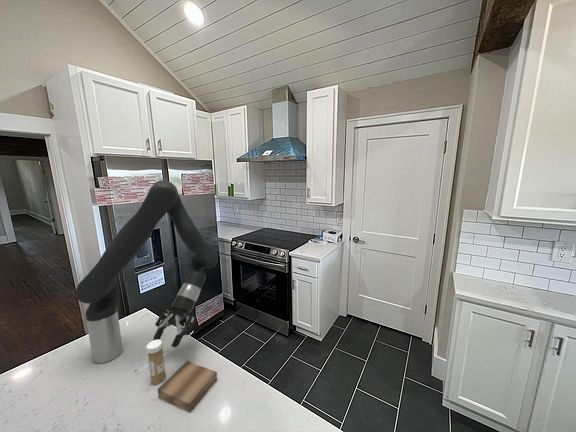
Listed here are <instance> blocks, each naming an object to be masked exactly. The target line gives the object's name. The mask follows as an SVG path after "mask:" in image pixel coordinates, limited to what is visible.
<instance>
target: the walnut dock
mask: <svg viewBox="0 0 576 432" xmlns="http://www.w3.org/2000/svg"><path fill="white" fill-rule="evenodd" d="M217 374H218V373H217V371H215V370H213V369H210V368H207V367H204V366H202V365H199V364H196V363H194V362H192V361H191V362H190V361H189V360H186V361H185V362H184V363H183V364H182V365H181V366H180V367H178V368H177V370H176V371H174V373H172V375H171V376H169V377H168V378H167V380H165V381H164V382H163V383H162V384H161V385H160V386H159V387H158V388H157V394H158V399H161V400H162V401H165V402H166V403H169V404H171V405H173V406H176V407H178V408H180V409H182V410H184V411H186V412H188V413H192V411H193V410H194V409H195V408H196V406H197V405H198V404H199V403H200V401H201V400H202V399H203V398H204V396H205V395H206V394H207V393H208V392H209V390H210V389H211V388H212V386H213V385H214V384H215V383H216V381H218V375H217Z"/></svg>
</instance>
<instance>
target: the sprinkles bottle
mask: <svg viewBox="0 0 576 432" xmlns="http://www.w3.org/2000/svg"><path fill="white" fill-rule="evenodd" d="M146 352H147V358H148V359H147V360H148V369H149V374H150V383H151V384H153V385H157V384H160V383H162V382H163V381H164V380H165V378H167V377H166V376H167V375H166V370H165V369H166V368H165V359H164V353H163V341H162V340H161V339H160V340H153V339H152V341H150V342H149V343H147V344H146Z"/></svg>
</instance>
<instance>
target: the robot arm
mask: <svg viewBox="0 0 576 432" xmlns="http://www.w3.org/2000/svg"><path fill="white" fill-rule="evenodd" d="M166 214H168V216H169V217H170V219H171V221H172V222H173V224H174V227H175V229H176V231H177V233H178V235H179V238H180V239H181V241H182V242H183V243H184V245H185V247H186V248H187V250H188V251H189V252H192V253H194V255H193V256H192V259H191V263H190V266H189V271H188V275H187V277H186V278H185V280H184V282H183V284H182V286H181V287H180V289H179V290H178V293H177V295H176V296H175V298H174V301H173V302H172V304H171V309H170V310H168V309H165V308H164V309H163V310H161V313H160V315H159V317H158V318H157V320H156V322H155V324H154V325H155V326H156V327H157V330H156V332H155V334H154V336H153V339H152V341H153V340H161V337H162V336H163V334H164V332H165V331H164V330H166V329H167V328H168V327H171V326H172V327H176V330H177V334H175V337H174V339H173V341H172V343H171V345H170V346H171V347H172V348H176V349H177V347H179V345H180V343H181V341H182V339H183V337H184V336H189V335H190V333H191V332H192V328H193V326H194V323H195V320H196V318H195V317H194V316H192V315H190V314H191V313H192V311H193V309H194V307H195V305H196V303H197V300H198V298H199V296H200V293H201V291H202V288H203V286H204V283H205V282H206V279H207V275H206V274H205V273H204V269H205V268H206V269H212V268H215V267H216V266H217V264H218V261H219V256H218V254H217V252H216V250H215V249H214V248H213V247H212V246H211V245H210V244H209V243H208V242H207V241H206V240H205V239H204V238H203V236H202V234H201V233H200V231H199V229H198V228H197V226H196V225H195V223H194V222H193V220H192V218H191V217H190V215H189V214H188V212H187V210H186V208H185V205H184V204H183V202H182V199H181V197H180V195H179V191H178V189H177V187H176V185H175V184H174V183H172V182H171V181H169V180H163V179H161V180H158V181H155V183H154V184H152V186H151V187H150V188H149V190H148V193H147V195H146V196H145V198H144V200H143V202H142V204H141V205H140V207H139V209H138V210H137V211H136V212H135V214H134V215H133V216H132V217H130V219H129V220H127V222H126V223H125V224H124V225H123V226H122V227H121V229H119V230H118V232H117V233H116V235H115V236H114V238H113V239H112V240H111V242H110V243H109V245H108V246H107V248H106V249H105V251H104V252H103V253H102V255H101V256H100V258H99V260H98V261H97V263H96V264H95V265H94V267H92V268H91V270H89V272H88V273H87V275H85V276H84V278H83V279H81V281H80V282H79V283H78V284H77V286H76V289H75V296H76V298H77V300H78V301H79V302H80V303H82V304H89V305H88V307H87V309H86V310H85V320H86V326H87V332H88V339H89V344H90V349H91V350H90V351H91V356H92V361H93V363H95V364H100V365H101V364H105V363H108V362H111V361H113V360H115V359H116V358H118V357H119V356H120V355H121V354H122V352H123V351H124V347H123V341H122V340H123V339H122V334H121V325H120V319H119V313H118V305H119V290H118V288H119V287H118V281H117V279H116V276H117V275H118V274H119V273H120V272H121V271H122V270H123V269H124V268H125V267H126V266H127V265H128V264H129V263H130V262H131V261H132V260H133V259H134V258H135V257H136V256H137V255H139V253H140V252H141V250H142V249H143V247H144V246H145V244H146V243H147V241H148V240H149V238H150V237H151V235H152V233H153V231H154V230H155V227H156V226H157V224H158V223H159V222H160V220H161V219H162V218H163V217H165V215H166Z"/></svg>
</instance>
